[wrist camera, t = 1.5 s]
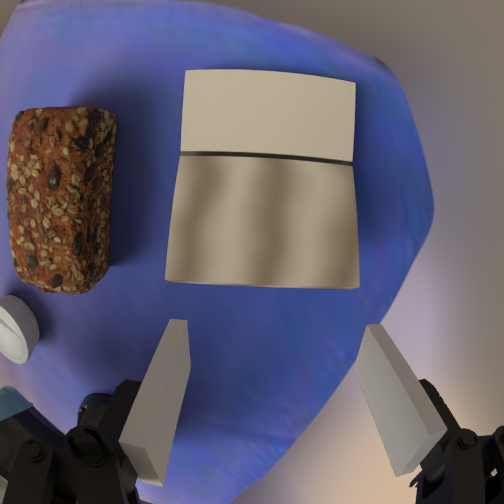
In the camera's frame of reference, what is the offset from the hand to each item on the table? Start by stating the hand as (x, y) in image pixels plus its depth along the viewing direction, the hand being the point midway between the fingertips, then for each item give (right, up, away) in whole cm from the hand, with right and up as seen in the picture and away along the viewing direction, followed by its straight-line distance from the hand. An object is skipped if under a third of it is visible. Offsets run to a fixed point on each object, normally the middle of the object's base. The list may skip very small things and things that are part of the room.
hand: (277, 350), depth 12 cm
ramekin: (-39, -7, +23) cm, 46 cm away
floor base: (0, +12, +16) cm, 20 cm away
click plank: (0, +7, +14) cm, 15 cm away
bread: (-21, +11, +17) cm, 29 cm away
